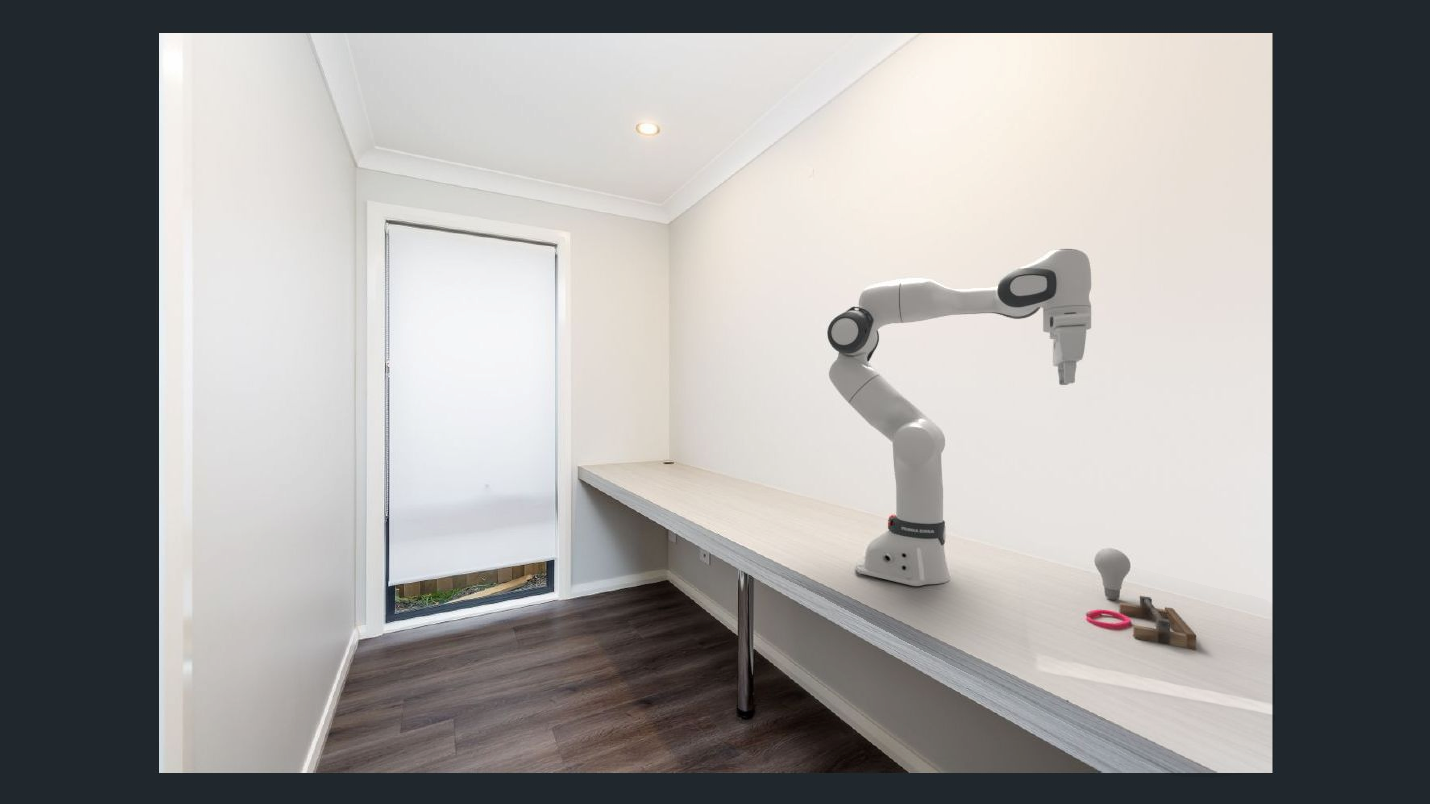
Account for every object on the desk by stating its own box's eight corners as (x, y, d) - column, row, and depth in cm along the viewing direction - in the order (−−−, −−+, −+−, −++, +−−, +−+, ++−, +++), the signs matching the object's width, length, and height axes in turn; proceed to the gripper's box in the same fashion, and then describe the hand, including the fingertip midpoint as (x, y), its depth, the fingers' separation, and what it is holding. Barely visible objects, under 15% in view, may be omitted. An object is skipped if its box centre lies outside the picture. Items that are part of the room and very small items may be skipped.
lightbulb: (1137, 606, 104) (1137, 553, 104) (1104, 604, 105) (1104, 552, 105) (1119, 595, 110) (1119, 545, 110) (1088, 593, 111) (1088, 544, 111)
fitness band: (1104, 614, 101) (1104, 606, 101) (1137, 626, 96) (1137, 618, 96) (1079, 621, 98) (1079, 613, 98) (1112, 633, 93) (1112, 625, 93)
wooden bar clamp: (1134, 638, 90) (1135, 616, 90) (1119, 612, 101) (1119, 592, 101) (1196, 649, 86) (1196, 626, 86) (1172, 621, 97) (1172, 600, 97)
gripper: (1045, 329, 122) (1045, 385, 122) (1054, 316, 105) (1054, 382, 105) (1077, 327, 119) (1077, 385, 119) (1091, 314, 102) (1091, 382, 101)
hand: (1066, 384), depth 112 cm, fingers open, 8 cm apart
